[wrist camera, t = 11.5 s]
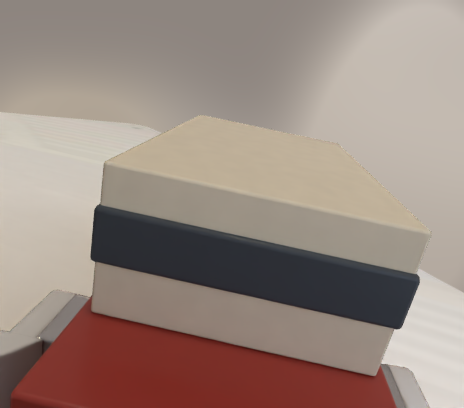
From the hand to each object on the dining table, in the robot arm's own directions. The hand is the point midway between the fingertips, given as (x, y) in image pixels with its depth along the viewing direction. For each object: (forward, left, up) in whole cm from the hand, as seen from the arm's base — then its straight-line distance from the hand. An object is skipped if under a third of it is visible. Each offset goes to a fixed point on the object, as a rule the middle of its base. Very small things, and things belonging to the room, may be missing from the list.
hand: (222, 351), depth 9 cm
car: (+3, +1, -5) cm, 6 cm away
